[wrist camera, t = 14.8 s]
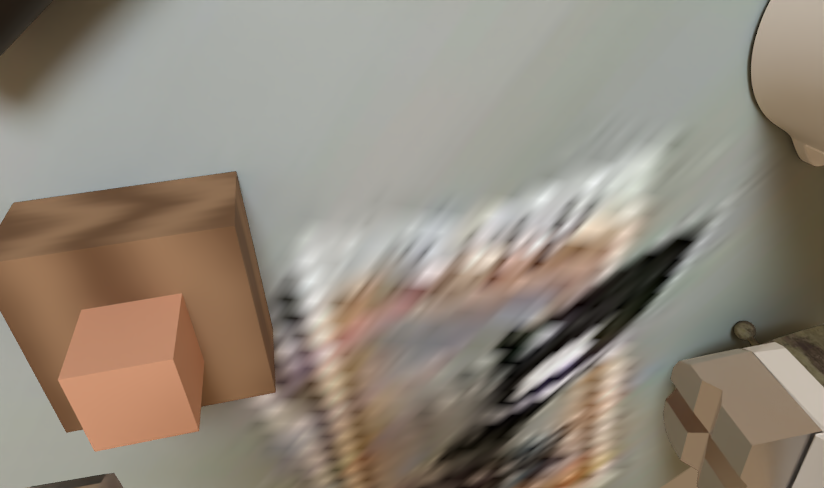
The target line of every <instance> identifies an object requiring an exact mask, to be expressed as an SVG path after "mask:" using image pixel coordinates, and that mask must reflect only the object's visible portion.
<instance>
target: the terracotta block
mask: <svg viewBox="0 0 824 488" xmlns="http://www.w3.org/2000/svg"><path fill="white" fill-rule="evenodd" d="M203 374H204V359H203V356H202V353H201V350H200V347H199V344H198V341H197V338H196V335H195V332H194V328H193V325H192V322H191V319H190V316H189V313H188V310H187V307H186V304H185V301H184V298H183V295H182V293H180V294H174V295H168V296H162V297H156V298H150V299H144V300H138V301H132V302H126V303H120V304H114V305H108V306H102V307H96V308H90V309H84V310H81V312H80V315H79V318H78V321H77V324H76V327H75V330H74V333H73V336H72V339H71V342H70V345H69V348H68V351H67V354H66V357H65V360H64V363H63V366H62V369H61V372H60V375H59V378H58V381H59V383H60V385H61V387H62V389H63V391H64V393H65V395H66V397H67V399H68V401H69V403H70V405H71V406H72V408H73V410H74V412H75V414H76V416H77V418H78V420H79V422H80V424H81V426H82V428H83V430H84V432H85V434H86V435H87V437H88V439H89V441H90V443H91V445H92V447H93V449H94V451H100V450H105V449H110V448H115V447H120V446H126V445H131V444H136V443H141V442H146V441H151V440H156V439H161V438H166V437H171V436H176V435H181V434H186V433H191V432H196V431H199V425H200V412H201V400H202V387H203Z"/></svg>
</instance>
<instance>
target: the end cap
mask: <svg viewBox="0 0 824 488" xmlns="http://www.w3.org/2000/svg"><path fill="white" fill-rule="evenodd" d="M52 1H53V0H0V56H1V55H2V54H3V52H4V51H5V50H6V49H7V48H8V47H9V46H10V45H11V44H12V43H13V42H14V41H15V40H16V39H17V38H18V37H19V36H20V34H21V33H22V32H23V31H24V30H25V29H26V28H27V27H28V26H29V25H30V24H31V23H32V22H33V21H34V20H35V19H36V18H37V16H38V15H39V14H40V13H41V12H42V11H43V10H44V9H45V8H46V7H47V6H48V5H49V4H50V3H51V2H52Z"/></svg>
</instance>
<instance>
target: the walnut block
mask: <svg viewBox="0 0 824 488" xmlns="http://www.w3.org/2000/svg"><path fill="white" fill-rule="evenodd" d="M180 293H182V295H183V298H184V301H185V304H186V307H187V310H188V313H189V316H190V319H191V322H192V325H193V328H194V332H195V335H196V338H197V341H198V344H199V347H200V350H201V353H202V356H203V359H204V374H203V387H202V400H201V407H202V406H207V405H212V404H218V403H223V402H228V401H233V400H238V399H244V398H249V397H254V396H259V395H264V394H270V393H275V392H276V387H275V367H274V347H273V328H272V323H271V319H270V315H269V311H268V306H267V302H266V298H265V293H264V289H263V285H262V280H261V276H260V272H259V268H258V263H257V259H256V255H255V250H254V246H253V242H252V237H251V233H250V229H249V225H248V220H247V216H246V212H245V207H244V203H243V199H242V194H241V190H240V186H239V182H238V177H237V173H236V171H235V172H228V173H221V174H214V175H207V176H199V177H192V178H185V179H178V180H171V181H164V182H157V183H150V184H143V185H136V186H129V187H122V188H114V189H107V190H100V191H93V192H86V193H79V194H72V195H65V196H58V197H51V198H44V199H37V200H30V201H22V202H15V203H13V204H12V206H11V208H10V209H9V211H8V213H7V214H6V216H5V218H4V219H3V221H2V223H1V224H0V311H1V313H2V315H3V317H4V318H5V320H6V322H7V324H8V326H9V328H10V330H11V331H12V333H13V335H14V337H15V339H16V341H17V342H18V344H19V346H20V348H21V350H22V352H23V353H24V355H25V357H26V359H27V361H28V363H29V365H30V366H31V368H32V370H33V372H34V374H35V376H36V377H37V379H38V381H39V383H40V385H41V387H42V388H43V390H44V392H45V394H46V396H47V398H48V400H49V401H50V403H51V405H52V407H53V409H54V411H55V412H56V414H57V416H58V418H59V420H60V422H61V423H62V425H63V427H64V429H65V431H66V433H67V432H72V431H77V430H82V429H83V428H82V426H81V424H80V422H79V420H78V418H77V416H76V414H75V412H74V410H73V408H72V406H71V405H70V403H69V401H68V399H67V397H66V395H65V393H64V391H63V389H62V387H61V385H60V383H59V381H58V378H59V375H60V372H61V369H62V366H63V363H64V360H65V357H66V354H67V351H68V348H69V345H70V342H71V339H72V336H73V333H74V330H75V327H76V324H77V321H78V318H79V315H80V312H81V310H84V309H90V308H96V307H102V306H108V305H114V304H120V303H126V302H132V301H138V300H144V299H150V298H156V297H162V296H168V295H174V294H180Z"/></svg>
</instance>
